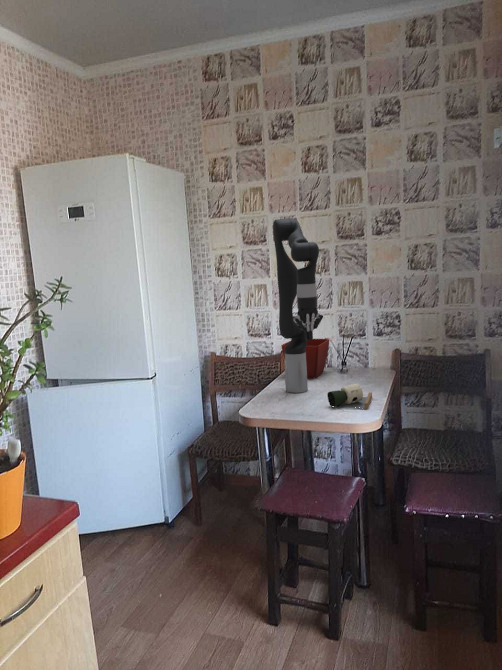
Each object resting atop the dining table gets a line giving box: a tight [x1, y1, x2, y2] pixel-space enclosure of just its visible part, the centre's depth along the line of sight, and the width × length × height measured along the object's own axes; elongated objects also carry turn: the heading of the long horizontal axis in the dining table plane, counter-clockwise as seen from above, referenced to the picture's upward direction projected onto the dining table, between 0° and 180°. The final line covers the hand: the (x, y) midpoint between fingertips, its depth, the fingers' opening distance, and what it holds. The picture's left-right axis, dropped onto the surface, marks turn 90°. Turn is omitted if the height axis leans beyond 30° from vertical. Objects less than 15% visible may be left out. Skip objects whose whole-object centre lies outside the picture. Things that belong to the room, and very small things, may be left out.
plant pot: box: [281, 338, 330, 379], centre depth 267 cm, size 19×19×17 cm
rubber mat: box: [335, 391, 373, 410], centre depth 214 cm, size 12×16×2 cm
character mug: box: [326, 383, 364, 408], centre depth 212 cm, size 11×7×13 cm
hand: (309, 340), depth 207 cm, fingers closed
